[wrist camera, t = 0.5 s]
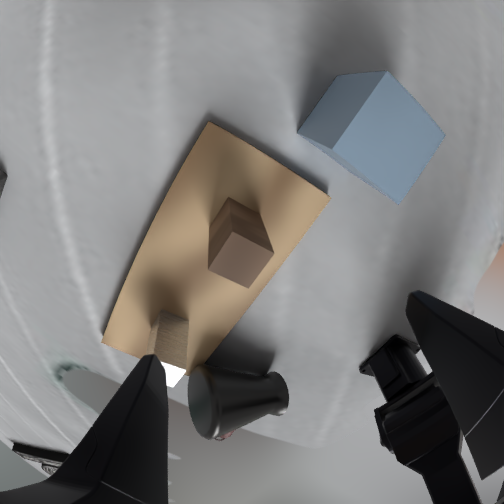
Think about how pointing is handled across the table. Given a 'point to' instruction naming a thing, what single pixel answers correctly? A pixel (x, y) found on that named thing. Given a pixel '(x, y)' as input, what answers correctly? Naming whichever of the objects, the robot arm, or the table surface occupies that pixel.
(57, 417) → the table surface
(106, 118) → the table surface
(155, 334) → the grey post
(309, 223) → the board
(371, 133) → the blue-grey rectangular prism
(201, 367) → the coffee pot
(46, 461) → the decorative sign
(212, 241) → the walnut post
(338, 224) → the table surface
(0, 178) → the toy gun
